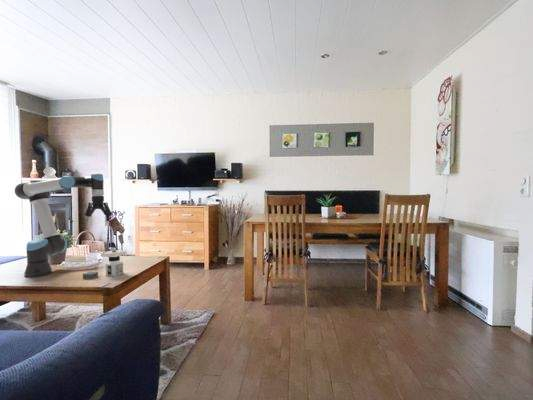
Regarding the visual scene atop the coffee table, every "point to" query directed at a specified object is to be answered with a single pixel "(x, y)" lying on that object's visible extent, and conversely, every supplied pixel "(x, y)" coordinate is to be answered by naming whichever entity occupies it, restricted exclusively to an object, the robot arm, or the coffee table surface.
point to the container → (114, 266)
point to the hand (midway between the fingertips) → (98, 225)
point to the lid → (114, 253)
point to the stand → (90, 275)
